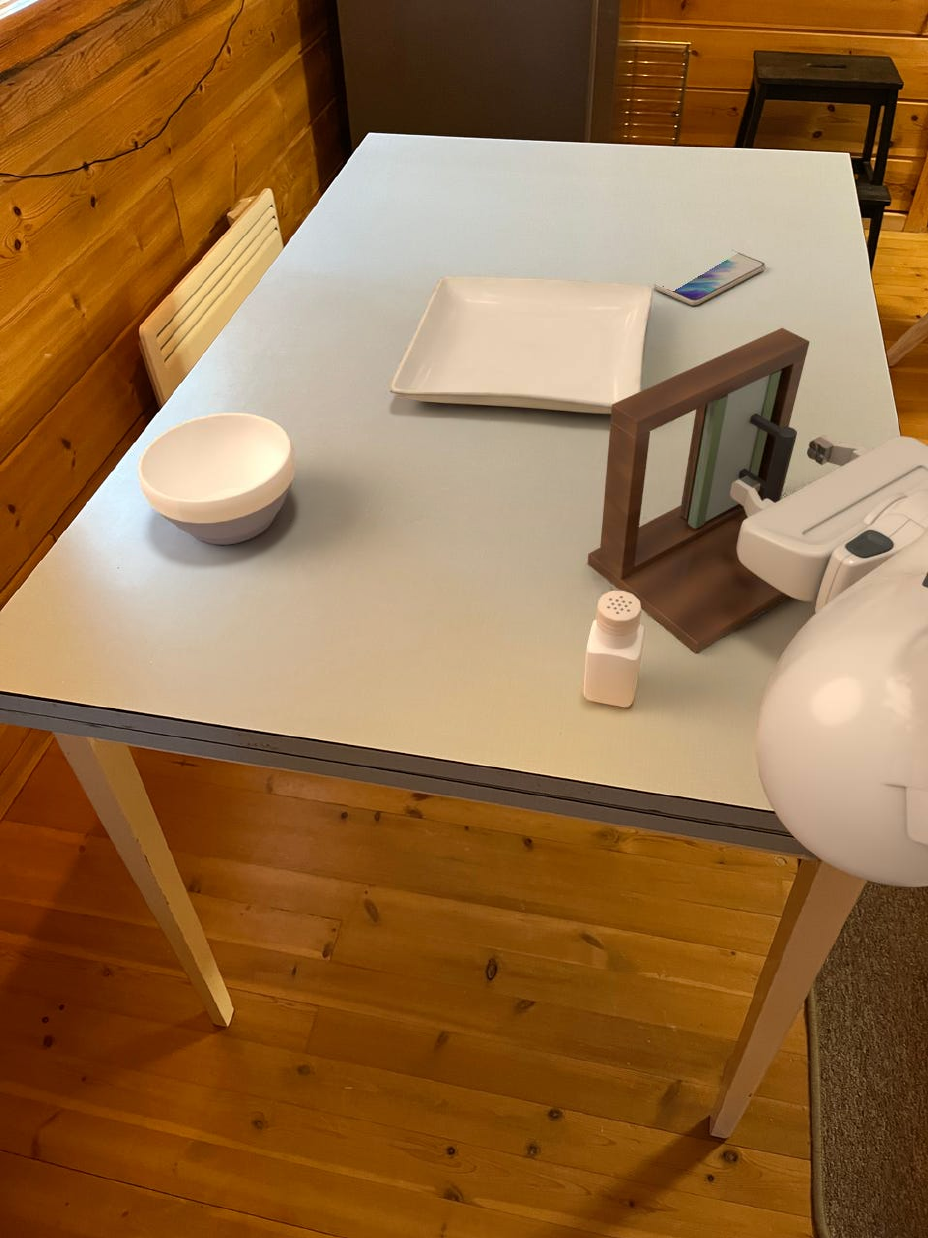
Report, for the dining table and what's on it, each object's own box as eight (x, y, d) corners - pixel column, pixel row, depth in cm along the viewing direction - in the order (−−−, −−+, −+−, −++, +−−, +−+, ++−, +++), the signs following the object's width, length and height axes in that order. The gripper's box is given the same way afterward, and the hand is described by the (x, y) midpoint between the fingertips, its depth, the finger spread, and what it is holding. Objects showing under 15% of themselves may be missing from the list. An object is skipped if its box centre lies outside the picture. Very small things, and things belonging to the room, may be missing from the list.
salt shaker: (631, 712, 73) (642, 628, 66) (581, 702, 74) (587, 619, 67) (639, 674, 76) (650, 590, 69) (590, 665, 77) (597, 582, 70)
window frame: (849, 560, 84) (907, 389, 71) (695, 653, 77) (730, 482, 64) (734, 485, 92) (768, 320, 80) (587, 563, 85) (599, 395, 73)
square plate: (441, 300, 122) (439, 271, 119) (651, 311, 118) (654, 282, 115) (389, 414, 104) (385, 384, 101) (636, 433, 99) (639, 402, 96)
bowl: (328, 485, 95) (317, 422, 90) (266, 578, 86) (249, 514, 80) (203, 464, 99) (185, 402, 93) (130, 552, 89) (105, 489, 84)
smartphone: (768, 263, 123) (694, 302, 117) (766, 269, 124) (693, 308, 118) (724, 246, 127) (651, 282, 121) (723, 252, 128) (650, 288, 121)
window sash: (787, 521, 85) (822, 391, 75) (729, 554, 82) (757, 423, 72) (744, 493, 88) (772, 365, 78) (687, 524, 85) (709, 394, 75)
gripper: (1009, 465, 73) (865, 391, 81) (834, 572, 66) (695, 478, 74) (981, 527, 78) (847, 450, 86) (814, 633, 70) (685, 538, 78)
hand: (776, 464), depth 80 cm, fingers open, 8 cm apart
